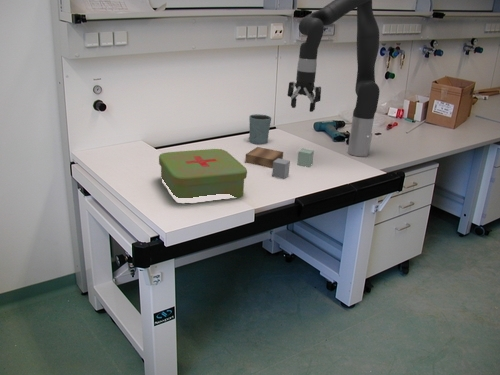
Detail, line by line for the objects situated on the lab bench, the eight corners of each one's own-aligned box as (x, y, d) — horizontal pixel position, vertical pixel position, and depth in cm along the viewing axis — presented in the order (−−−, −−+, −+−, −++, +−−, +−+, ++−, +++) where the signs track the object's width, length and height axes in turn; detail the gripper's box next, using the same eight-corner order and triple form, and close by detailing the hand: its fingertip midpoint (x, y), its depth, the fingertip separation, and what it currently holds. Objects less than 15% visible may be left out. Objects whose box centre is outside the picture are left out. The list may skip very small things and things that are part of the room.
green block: (312, 163, 206) (313, 150, 204) (308, 167, 202) (310, 153, 200) (301, 161, 208) (302, 148, 206) (297, 165, 204) (298, 151, 201)
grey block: (288, 175, 192) (290, 160, 190) (284, 179, 188) (285, 164, 186) (276, 172, 194) (278, 158, 192) (272, 176, 190) (273, 161, 188)
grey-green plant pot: (244, 142, 228) (246, 117, 223) (252, 137, 237) (254, 112, 232) (265, 146, 225) (267, 120, 220) (272, 140, 233) (274, 116, 229)
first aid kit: (175, 207, 159) (175, 178, 156) (156, 178, 181) (156, 152, 177) (249, 198, 170) (251, 171, 166) (222, 172, 191) (223, 147, 188)
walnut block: (282, 160, 209) (283, 151, 207) (271, 169, 198) (272, 159, 197) (256, 155, 213) (257, 146, 211) (245, 163, 203) (245, 154, 201)
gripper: (326, 71, 195) (321, 111, 202) (296, 66, 203) (292, 105, 209) (317, 73, 190) (312, 114, 196) (286, 68, 197) (283, 107, 203)
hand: (302, 109), depth 202 cm, fingers open, 8 cm apart
